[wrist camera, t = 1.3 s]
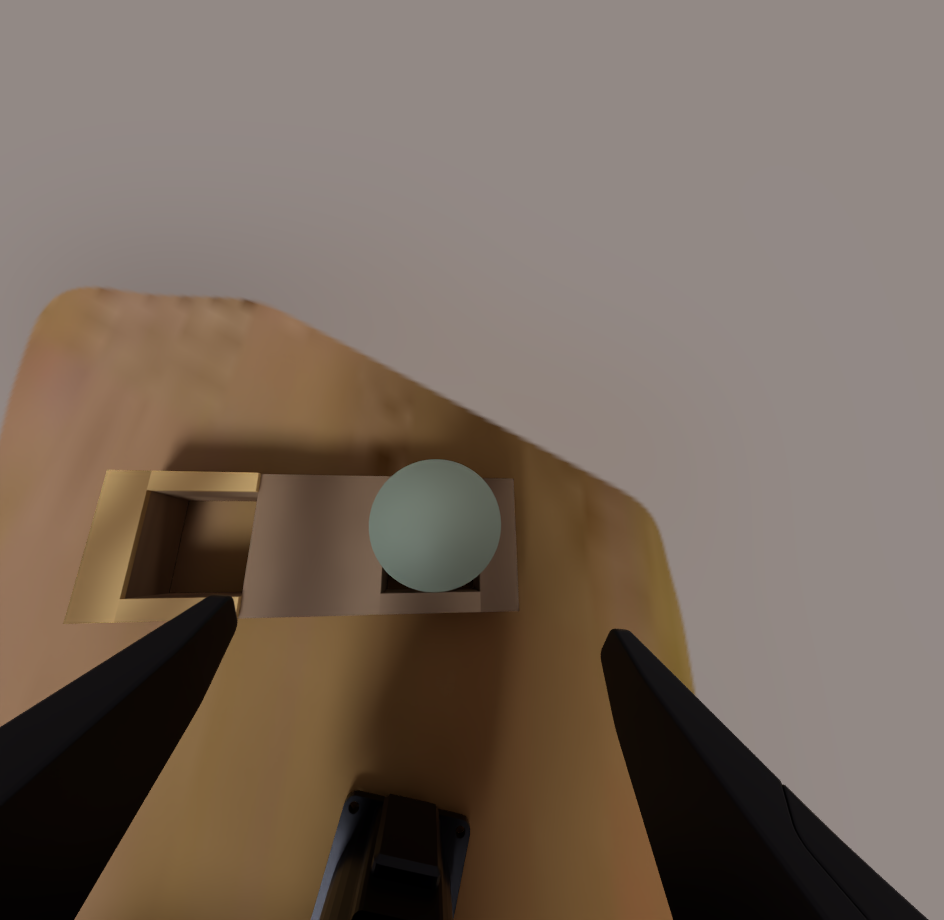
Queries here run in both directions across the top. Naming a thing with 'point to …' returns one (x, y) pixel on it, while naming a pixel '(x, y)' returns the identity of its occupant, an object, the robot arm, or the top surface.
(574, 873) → the top surface
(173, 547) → the brown slotted board
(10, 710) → the top surface
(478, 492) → the post
